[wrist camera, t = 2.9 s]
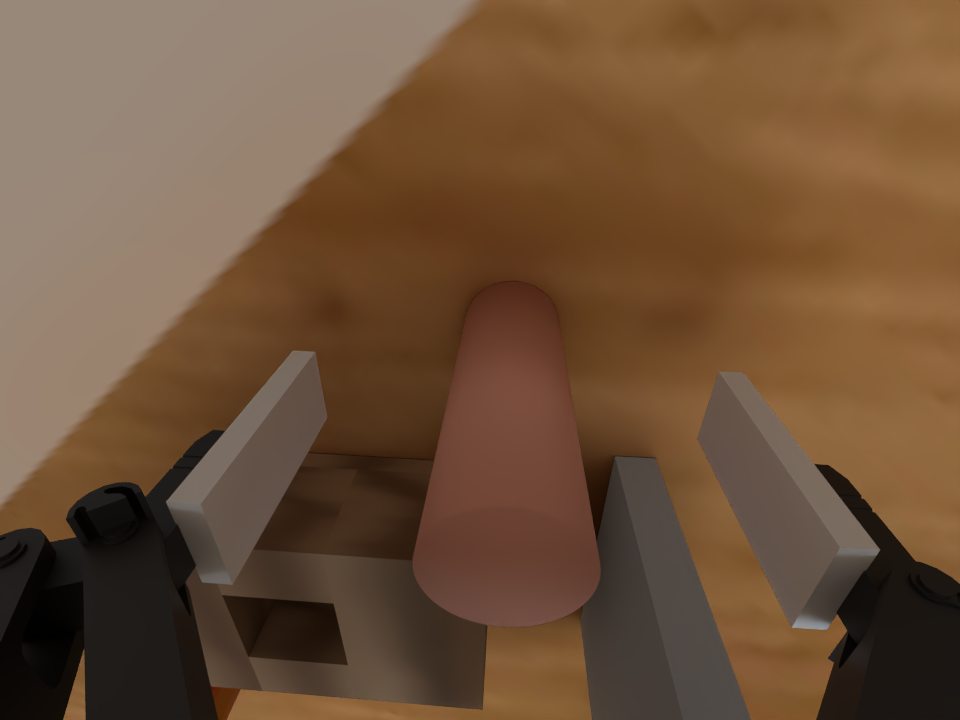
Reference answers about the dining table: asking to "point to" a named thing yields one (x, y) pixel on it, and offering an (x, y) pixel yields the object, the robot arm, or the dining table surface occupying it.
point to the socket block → (341, 596)
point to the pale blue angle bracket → (652, 613)
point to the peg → (508, 474)
